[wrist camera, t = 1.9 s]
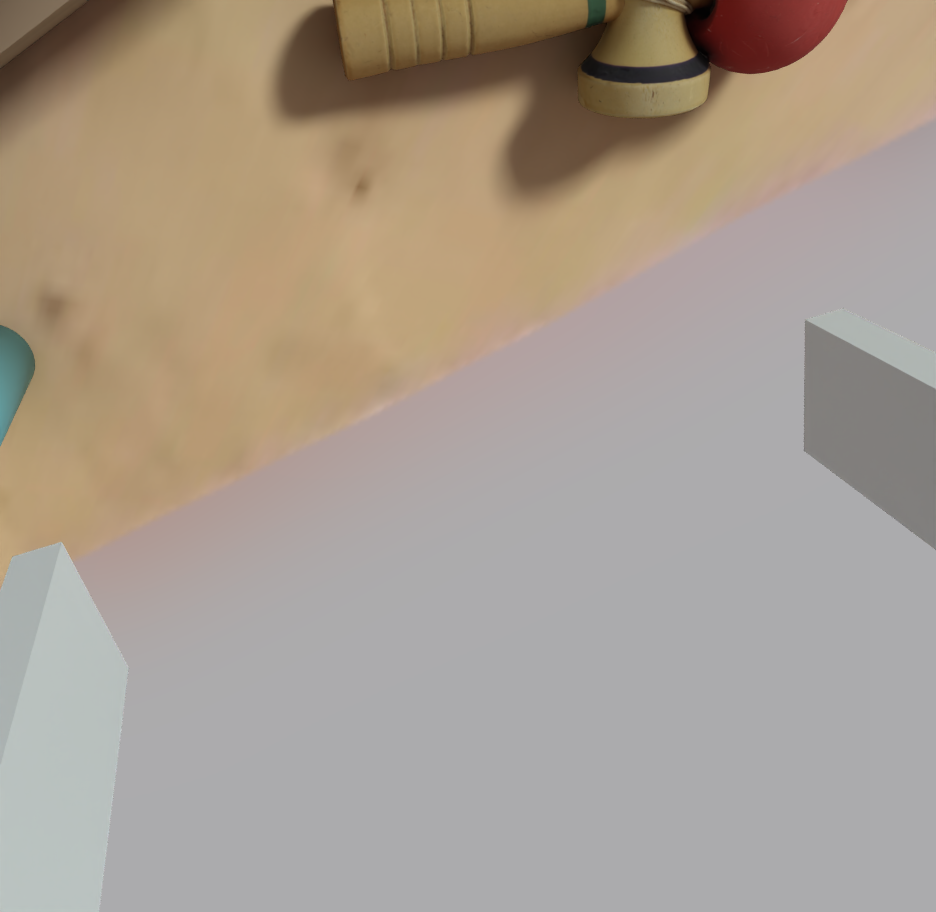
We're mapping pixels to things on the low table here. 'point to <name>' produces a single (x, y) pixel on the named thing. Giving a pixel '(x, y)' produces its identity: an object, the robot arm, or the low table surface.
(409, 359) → the low table surface
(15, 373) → the peg
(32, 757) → the robot arm
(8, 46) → the hole block
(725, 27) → the kendama
